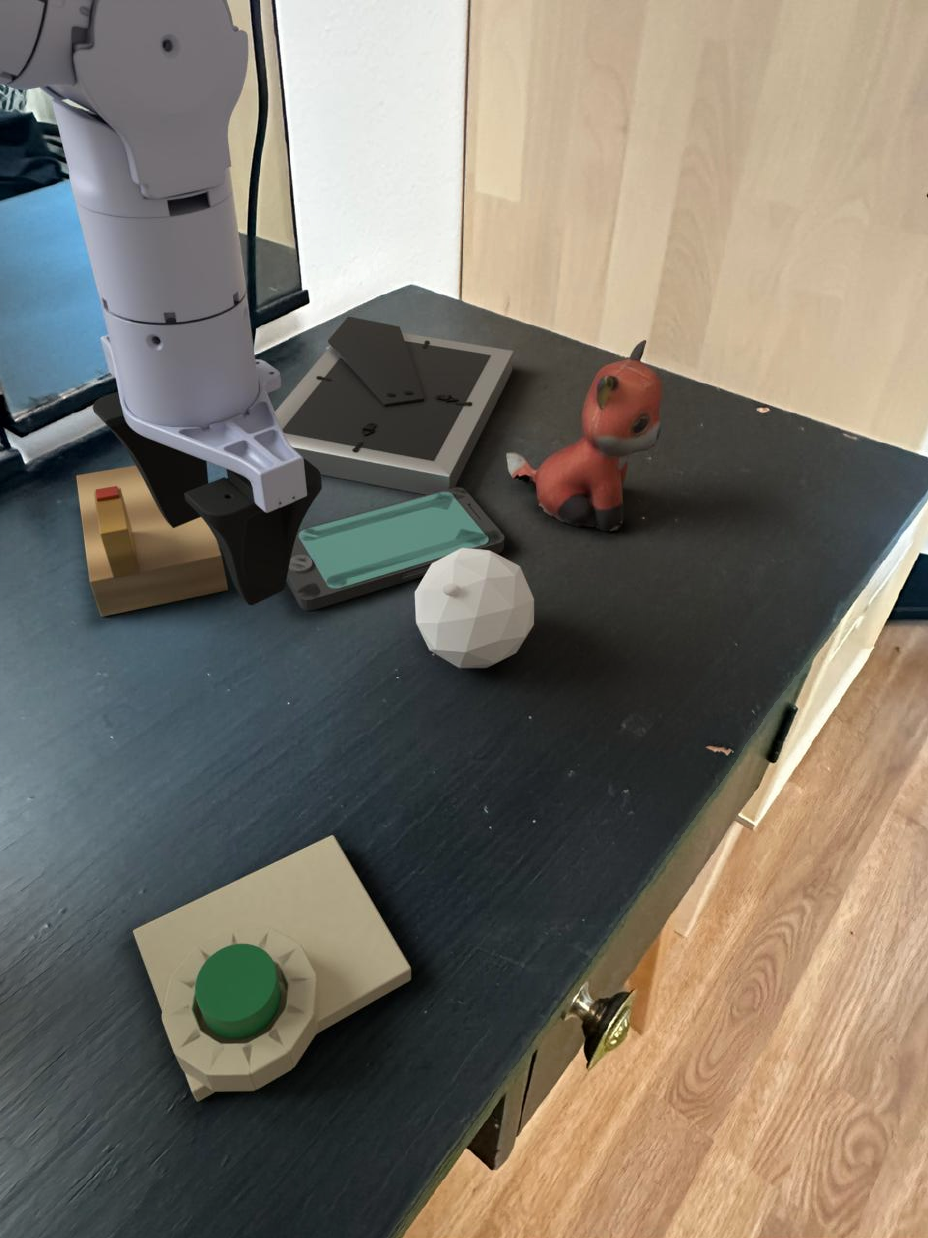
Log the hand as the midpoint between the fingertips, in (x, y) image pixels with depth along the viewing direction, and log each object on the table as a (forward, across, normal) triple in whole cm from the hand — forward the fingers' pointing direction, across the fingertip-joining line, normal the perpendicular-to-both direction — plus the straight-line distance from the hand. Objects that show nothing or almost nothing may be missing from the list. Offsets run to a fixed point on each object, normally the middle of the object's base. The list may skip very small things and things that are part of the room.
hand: (224, 554), depth 45 cm
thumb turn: (+7, +12, +1) cm, 15 cm away
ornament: (+11, -6, -12) cm, 17 cm away
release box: (+10, -15, +8) cm, 20 cm away
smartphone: (+11, +5, -14) cm, 18 cm away
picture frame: (+10, +20, -26) cm, 34 cm away
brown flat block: (+10, +16, -2) cm, 19 cm away
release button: (+8, -17, +10) cm, 21 cm away
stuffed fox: (+11, +2, -29) cm, 31 cm away
